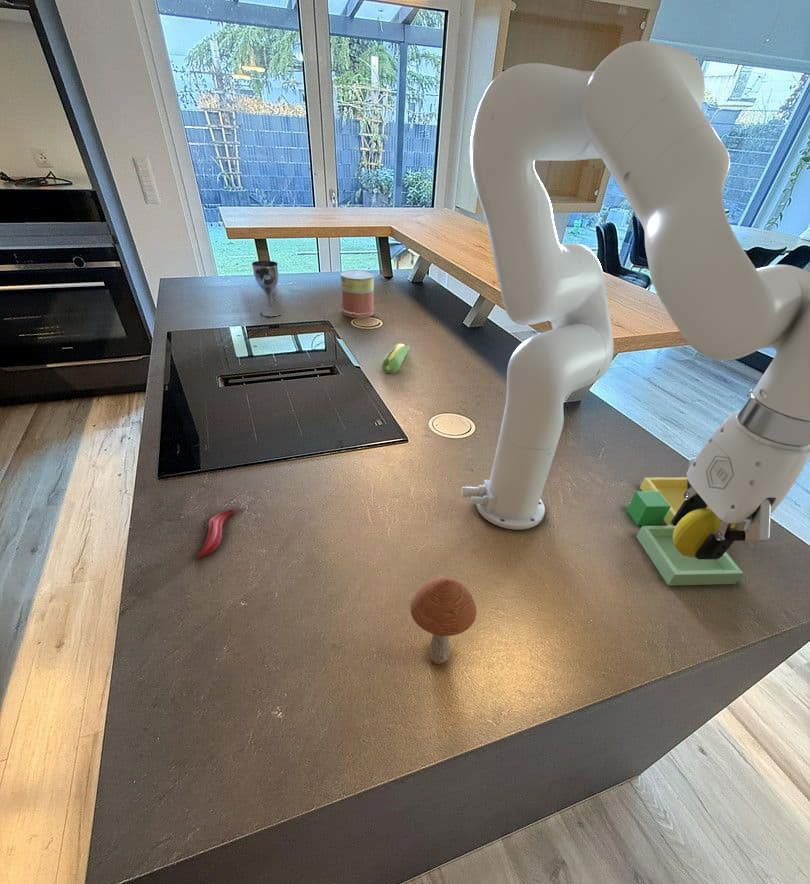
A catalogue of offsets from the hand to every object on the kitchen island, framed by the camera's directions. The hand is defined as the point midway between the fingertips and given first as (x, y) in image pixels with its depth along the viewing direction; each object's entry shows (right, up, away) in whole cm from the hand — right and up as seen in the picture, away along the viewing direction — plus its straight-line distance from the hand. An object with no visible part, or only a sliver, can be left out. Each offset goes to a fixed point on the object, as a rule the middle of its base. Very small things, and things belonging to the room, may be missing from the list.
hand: (694, 539), depth 62 cm
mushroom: (-35, -16, +1) cm, 38 cm away
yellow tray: (+16, +6, +28) cm, 33 cm away
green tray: (+9, -3, +17) cm, 20 cm away
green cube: (+6, +4, +25) cm, 26 cm away
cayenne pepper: (-70, +1, +16) cm, 72 cm away
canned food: (-56, +81, +102) cm, 141 cm away
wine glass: (-84, +77, +96) cm, 149 cm away
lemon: (0, -2, +2) cm, 3 cm away
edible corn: (-41, +51, +71) cm, 97 cm away
